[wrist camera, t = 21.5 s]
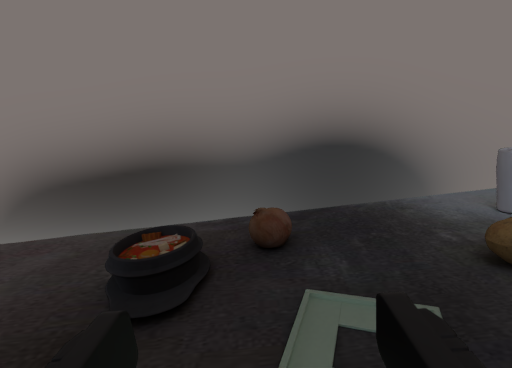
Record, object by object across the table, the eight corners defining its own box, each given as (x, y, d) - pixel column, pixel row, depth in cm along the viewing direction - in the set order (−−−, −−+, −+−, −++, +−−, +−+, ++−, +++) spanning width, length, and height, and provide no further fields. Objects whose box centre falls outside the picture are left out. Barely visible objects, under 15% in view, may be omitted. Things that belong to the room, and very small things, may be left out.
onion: (256, 259, 64) (232, 223, 63) (280, 234, 70) (258, 201, 69) (284, 258, 57) (257, 216, 55) (308, 230, 62) (284, 192, 61)
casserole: (129, 258, 64) (121, 223, 62) (211, 245, 67) (206, 211, 65) (80, 340, 40) (65, 288, 38) (211, 315, 43) (203, 265, 41)
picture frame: (270, 402, 29) (269, 392, 29) (306, 295, 45) (305, 288, 45) (487, 467, 22) (488, 456, 22) (438, 314, 38) (438, 307, 38)
